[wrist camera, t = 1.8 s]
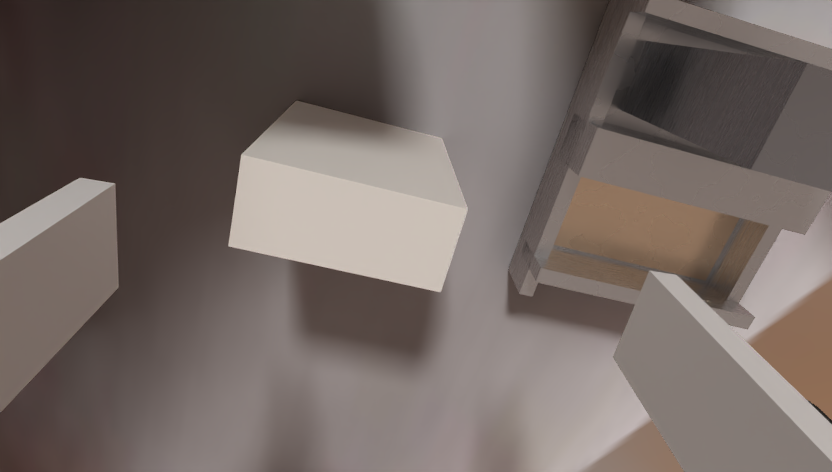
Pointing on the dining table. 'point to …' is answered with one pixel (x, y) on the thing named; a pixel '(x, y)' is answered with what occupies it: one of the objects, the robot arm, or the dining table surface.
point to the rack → (681, 157)
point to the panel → (350, 197)
